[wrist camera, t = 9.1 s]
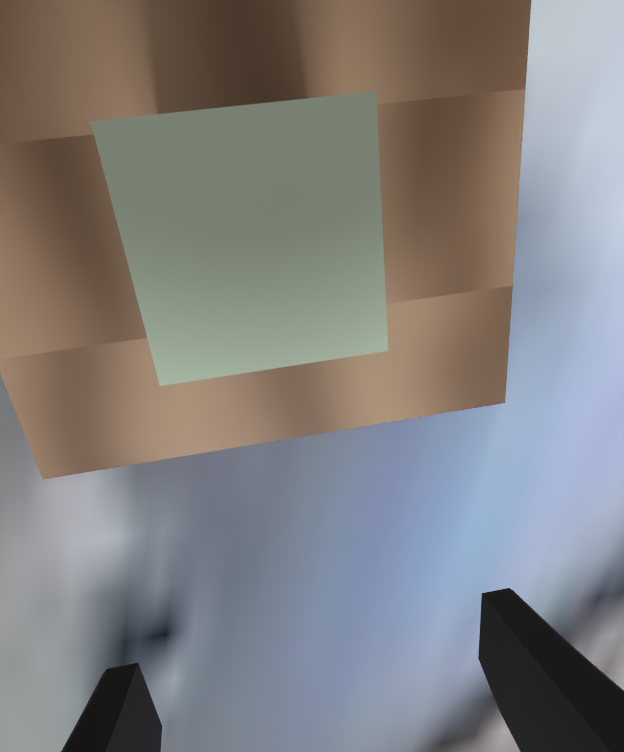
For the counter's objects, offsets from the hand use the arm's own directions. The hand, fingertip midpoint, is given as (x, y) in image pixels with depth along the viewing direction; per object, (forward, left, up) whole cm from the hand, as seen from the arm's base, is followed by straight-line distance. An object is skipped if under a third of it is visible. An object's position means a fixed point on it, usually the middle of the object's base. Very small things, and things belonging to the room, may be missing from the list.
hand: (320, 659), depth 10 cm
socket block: (0, +8, -10) cm, 13 cm away
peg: (0, +8, -10) cm, 13 cm away
